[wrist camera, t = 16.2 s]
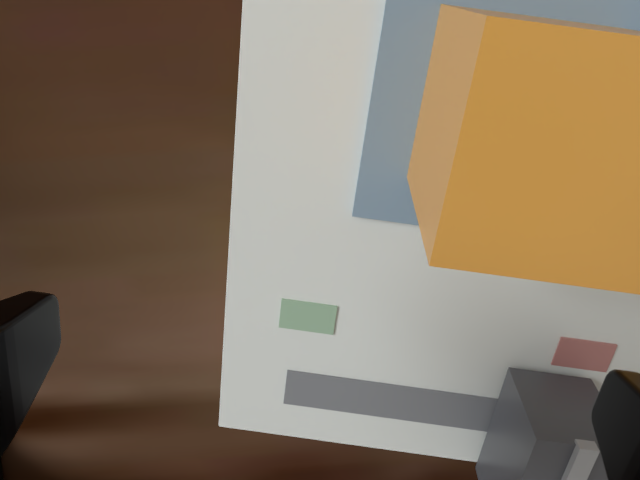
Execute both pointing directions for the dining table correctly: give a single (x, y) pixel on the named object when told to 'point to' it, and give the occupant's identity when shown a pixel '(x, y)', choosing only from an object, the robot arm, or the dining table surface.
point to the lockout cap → (530, 149)
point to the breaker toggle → (542, 430)
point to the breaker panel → (376, 245)
